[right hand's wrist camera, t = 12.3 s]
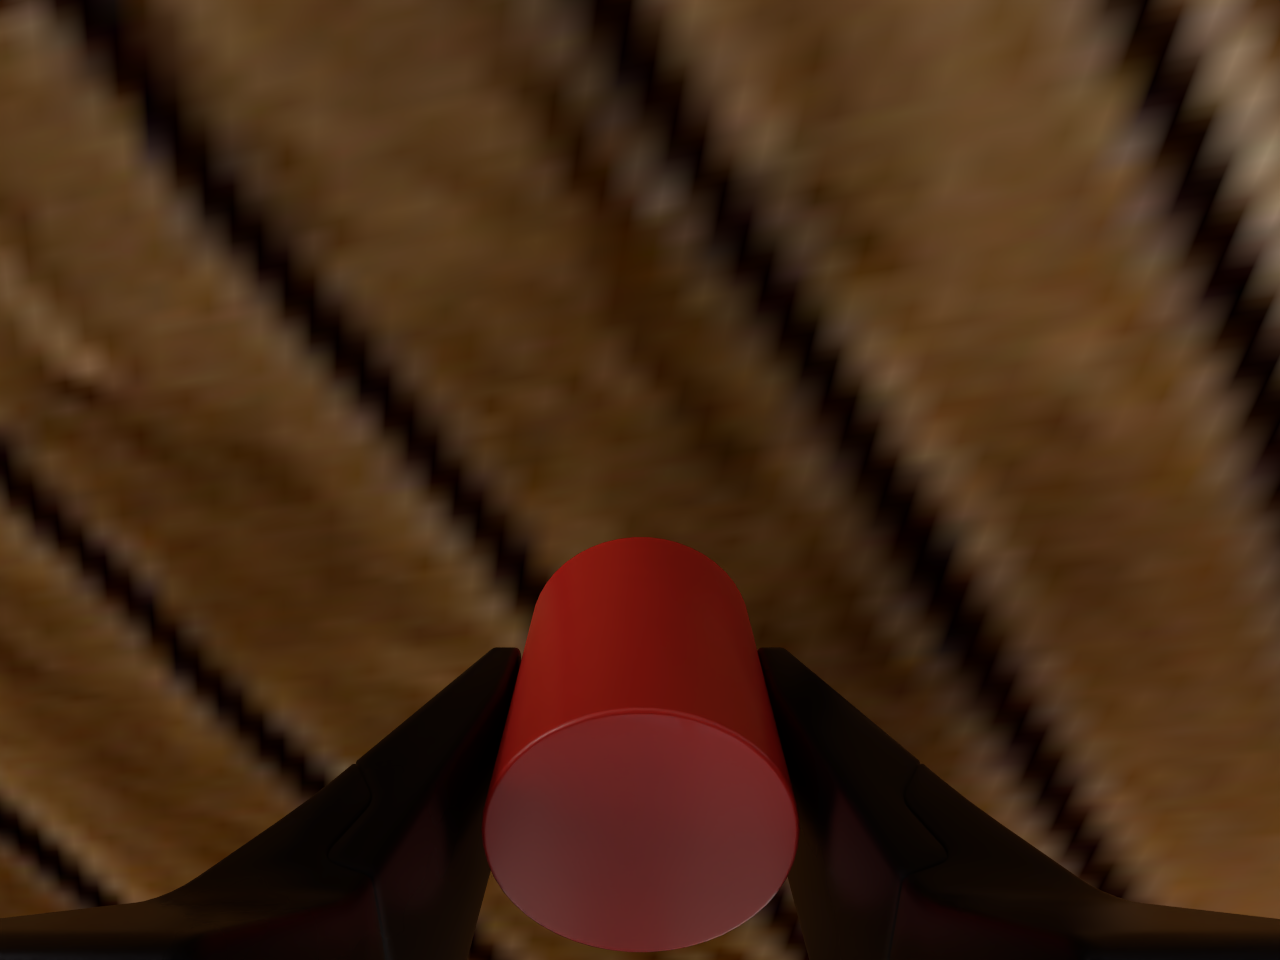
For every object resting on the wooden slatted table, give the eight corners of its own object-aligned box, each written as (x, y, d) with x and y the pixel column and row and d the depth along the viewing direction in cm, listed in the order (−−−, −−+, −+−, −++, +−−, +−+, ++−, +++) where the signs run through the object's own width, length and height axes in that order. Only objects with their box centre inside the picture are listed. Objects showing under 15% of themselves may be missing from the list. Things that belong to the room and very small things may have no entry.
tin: (713, 507, 12) (751, 670, 8) (773, 691, 13) (833, 914, 9) (497, 573, 12) (427, 760, 8) (576, 745, 13) (548, 982, 9)
